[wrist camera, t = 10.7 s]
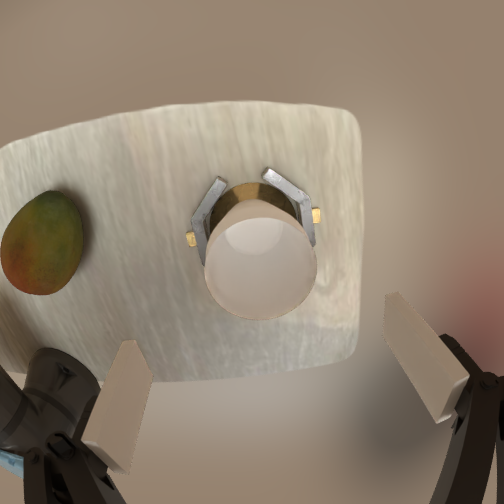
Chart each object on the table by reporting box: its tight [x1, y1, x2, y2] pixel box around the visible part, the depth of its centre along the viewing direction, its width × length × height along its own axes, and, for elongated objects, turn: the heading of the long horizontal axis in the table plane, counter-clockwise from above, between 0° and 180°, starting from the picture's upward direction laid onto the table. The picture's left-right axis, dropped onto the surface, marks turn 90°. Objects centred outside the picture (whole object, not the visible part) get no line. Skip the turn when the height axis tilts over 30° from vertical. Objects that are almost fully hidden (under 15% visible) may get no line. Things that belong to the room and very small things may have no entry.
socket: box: [186, 167, 321, 267], centre depth 33 cm, size 15×13×2 cm
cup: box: [204, 199, 317, 320], centre depth 28 cm, size 9×9×12 cm
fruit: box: [0, 191, 83, 295], centre depth 28 cm, size 12×13×10 cm
